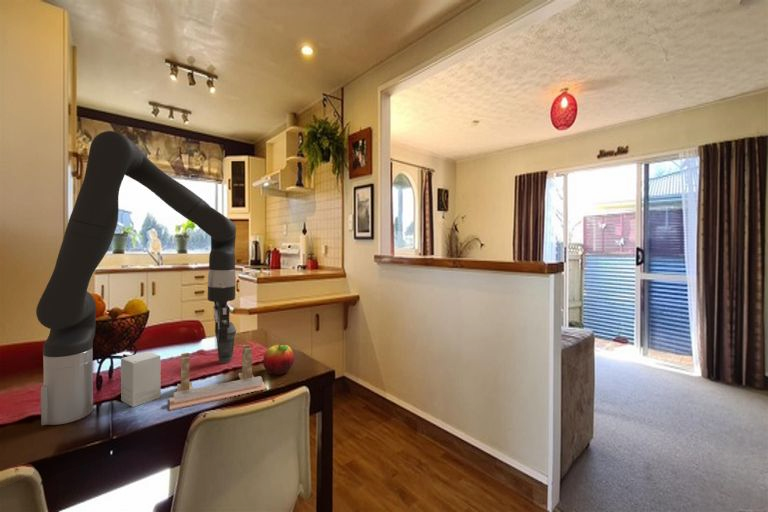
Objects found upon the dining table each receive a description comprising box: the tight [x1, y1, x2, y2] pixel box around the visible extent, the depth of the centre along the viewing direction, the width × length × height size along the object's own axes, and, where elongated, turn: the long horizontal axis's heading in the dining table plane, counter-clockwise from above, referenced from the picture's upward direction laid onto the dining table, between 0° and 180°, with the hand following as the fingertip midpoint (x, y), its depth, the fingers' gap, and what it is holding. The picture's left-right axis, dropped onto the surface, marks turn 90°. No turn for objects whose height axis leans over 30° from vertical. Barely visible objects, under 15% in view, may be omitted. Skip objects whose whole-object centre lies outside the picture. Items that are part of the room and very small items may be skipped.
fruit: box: [262, 343, 295, 376], centre depth 118 cm, size 11×11×10 cm
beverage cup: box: [215, 321, 237, 364], centre depth 126 cm, size 7×7×20 cm
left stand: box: [176, 352, 194, 392], centre depth 102 cm, size 4×6×11 cm, turn 33°
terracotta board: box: [169, 380, 268, 411], centre depth 100 cm, size 26×7×1 cm, turn 123°
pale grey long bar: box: [173, 375, 263, 404], centre depth 100 cm, size 24×2×2 cm, turn 123°
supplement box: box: [120, 351, 162, 408], centre depth 96 cm, size 7×7×13 cm
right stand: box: [238, 344, 255, 380], centre depth 111 cm, size 4×6×11 cm, turn 33°
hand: (220, 337), depth 99 cm, fingers open, 8 cm apart
